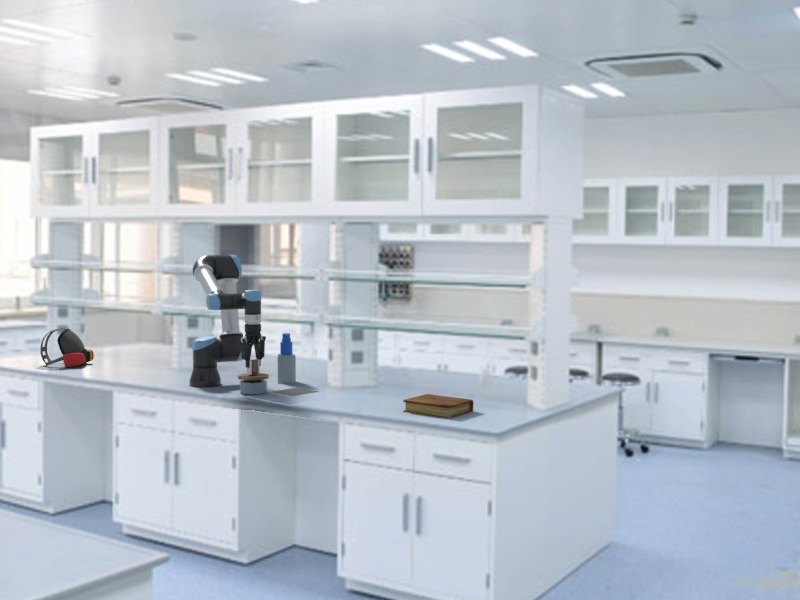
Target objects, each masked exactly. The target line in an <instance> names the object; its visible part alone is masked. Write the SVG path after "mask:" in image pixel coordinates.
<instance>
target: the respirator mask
mask: <svg viewBox="0 0 800 600" xmlns="http://www.w3.org/2000/svg"><path fill="white" fill-rule="evenodd" d="M55 332H61V333H60V334H59V335H58V337H57V339H56V341H57V344H58V345H57V346H58V348H59V350H60V351H59V352H60V353H61V354H62V356H60V357H58V358H55V359H53V360H51V358H50V356H49V354H48V342H49V340H50V337H51V336H52V335H53V333H55ZM45 338H46V339H45ZM44 341H45V342H44ZM43 345H44V346H43ZM39 348H40V350H39V351H40V356H41V359H42V361H43V362H44V364H45V366H46V367H47V366H50V365H54V364H56V363H58V362H59V363H60V362H61V361H63V364H64V365H63V366H64V367H65V368H66V367H69V368H73V367H74V368H75V367H78V366H86V364H87V363H89V362H91V361H93V360H94V358H95V354H94V350H92V349H88V348H85V345H84V342H83V341H82V339H81V338H80V337H79V336H78V335H77V334H76V333H75V332H74V331H72V329H70V328H63V329H62V328H56V329H52V330H51V331H49V332H47V333H45V335H44V336H43V338H42V340H41V343H40V347H39ZM46 360H47V361H46Z"/></svg>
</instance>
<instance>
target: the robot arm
mask: <svg viewBox="0 0 800 600" xmlns="http://www.w3.org/2000/svg"><path fill="white" fill-rule="evenodd" d="M242 269H243V267H242V263H241V261H240V258H239V257H238V256H237V255H235V254H229V253H228V254H205V255H202V256H201V257H199V258H198V259H196V261H195V262H194V264H193V266H192V274H193V277H194V279H195V280H196V281H197V282H199V283H200V285H201V287H202V289H203V291H204V292H205V295H206V300H205V303H206V308H207V309H208V310H209V311H220V319H221V333H220V334H219V338H218V337H217V336H216V335H208V336H201V337H197V338H195V339H194V340H193V341H192V372H191V375H190V379H189V386H192V387H197V388H198V387H200V388H201V387H208V388H209V387H215V386H219V385H222V379H221V376H220V372H219V369H218V363H230V362H231V363H232V362H234V363H235V362H236V363H237V362H242V361H245V368H246V373H247V374H249V375H252V361H251V360H252V359H251V358H252V357H251V356H252V350H253V347H254V353H255V359H254V360H258V374H260V373H261V371H260V369H261V365H262V363H261V361H262V359H263V358H265V353H266V352H265V350H266V349H265V348H266V347H265V346H266V343H265V342H266V339H267V337H266V336H263V335H262V333H261V332H262V324H261V323H262V294H261V290H259V289H246V290H244V292H240V293H239V292H237V283H238V282H239V278H241V277H242V273H243V272H242V271H243V270H242ZM239 310H244V323H245V324H244V333H245V334H244V333H243V332H242V331H241V330H240V319H239V318H240V317H239Z"/></svg>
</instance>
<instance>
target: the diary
mask: <svg viewBox="0 0 800 600" xmlns="http://www.w3.org/2000/svg"><path fill="white" fill-rule="evenodd" d="M402 402H403V403H405V410H403V411H402V412H403V413H407V412H409V413H410V414H414V413H416V415H421V414H422V416H429V417H434V416H435V418H441V417H443V418H442V419H448V418H449V419H453V418H456V417H459V416H460V417H461V416H463V415H467V414H469V413H473V412H474V400H473V399H471V398H469V399H468V398H461V397H453V396H446V395H439V394H430V393H427V394H423V395H422V394H421V395H418V396H414V397H409V398H405V399H403V401H402ZM409 413H408V414H409ZM449 419H448V420H449Z"/></svg>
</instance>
